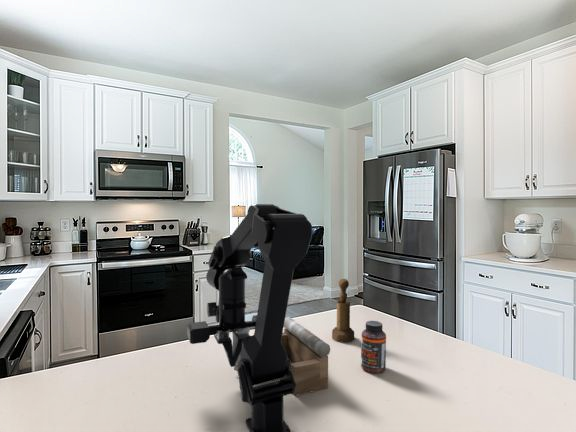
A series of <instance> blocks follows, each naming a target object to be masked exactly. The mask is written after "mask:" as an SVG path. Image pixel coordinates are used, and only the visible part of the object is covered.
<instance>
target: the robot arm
mask: <svg viewBox="0 0 576 432" xmlns="http://www.w3.org/2000/svg"><path fill="white" fill-rule="evenodd" d="M246 213H247V214H246V215H245V216H244V218H243V219H242V220H241V222H240V223H239V224H238V226H237V227H236V228H235V230H234V231H233V233H232V234H231V235H228V236H224V237H221V238H220V239H219V240H218V241H217V242H215V243H216V244H215V246H214V247H213V250H212V252H211V254H210V257H209V259H208V268H209V269H208V270H207V272H206V276H205V277H206V281H207V283H208V285H209V286H210V287H213V288H214V289H215V290H217V291H218V303H217V302H216V301H214V302H207V305H206V306H207V307H206V308H207V309H206V311H207V317H208V318H211V317H215V321H216V322H217V324H213V325H208V323H207V321H206V320H203V321H195V322H189V324H188V325H187V329H186V330H187V332H186V333H187V334H186V335H187V337H188V341H189V344H192V345H195V344H204V343H207V342H208V341H209V339H210V336H212V335H213V338H214V339H215V341H216V343H217V344H219V345H222V347H223V348H224V352H225V356H226V357H227V361H228V364H229V366H230V368H234V366H235V364H236V361H237V359H238V357H239V354H240V356H241V358H240V361H239V363H238V370H237V371H236V372H237V374H238V375H237V376H238V381H239V382H238V383H239V390H240V395H241V402H243V403H248V404H249V406H251V417H248V418H245V422H244V423H245V425H246V426H247V428H248V431H249V432H291V431H292V430H291V428H290V427H289V425H288V424H287V422H286V421H285V420H284V406H285V405H284V396H288V395H294V392H295V387H296V383H295V381H294V378H293V375H292V372H291V366H290V363H289V362H288V361H287V353H286V351H285V349H284V347H283V345H282V343H281V338H282V333H284V322H285V318H286V316H287V312H288V311H287V309H288V303H289V298H290V293H291V287H292V283H293V276H294V270H295V268H296V267H297V266H299V264H300V262H302V260H303V259H304V258H305V257H306V256H307V254H308V250H309V247H310V243H311V241H312V237H313V233H314V232H313V226H312V223H311V222H310V221H309V220H308V217H307V216H305V214H303V213H296V212H292V211H290V210H287V209H284V208H280V207H279V206H278V205H275V204H271V203H270V204H269V203H267V204H266V203H263V204H262V203H259V204H258V203H254V204H253V205H250V206H249V207H248V209H247V212H246ZM256 244H257V247H258V249H259V252H260V254H261V255H262V258H263V260H264V266H263V267H264V268H263V274H262V280H261V286H260V287H261V289H260V292H259V293H260V294H259V301H258V305H257V313H256V315H252V317H251V320H247V321H246V308H247V303H246V280H247V279H248V275H247V273H246V272H245V271H244V270H243V268H245V266H246V265H248V263H249V261H250V260H251V259H252V256H253V255H252V249H253V247H255V245H256ZM217 304H218V305H217ZM252 330H254V332H253V335H250V331H252ZM230 333H232V339H231V337H230ZM240 352H241V353H240Z"/></svg>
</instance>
